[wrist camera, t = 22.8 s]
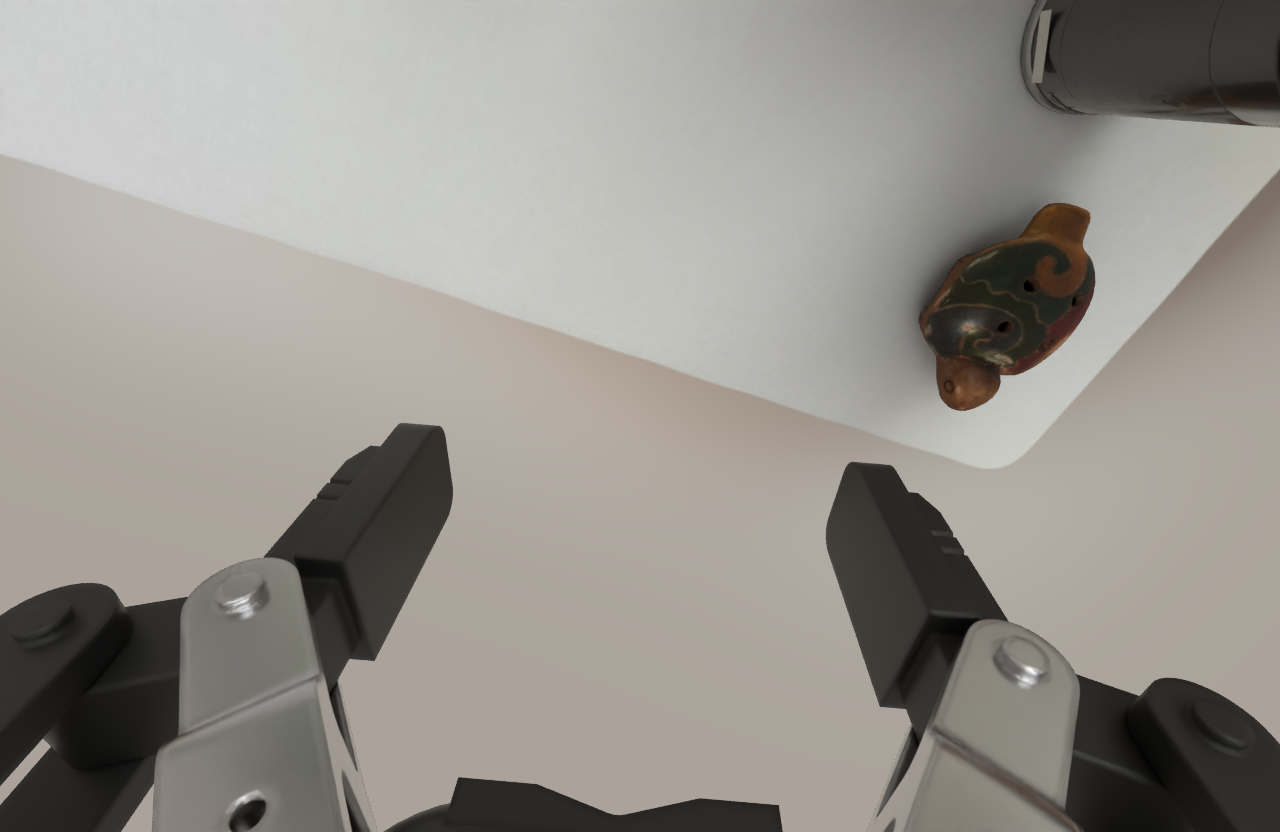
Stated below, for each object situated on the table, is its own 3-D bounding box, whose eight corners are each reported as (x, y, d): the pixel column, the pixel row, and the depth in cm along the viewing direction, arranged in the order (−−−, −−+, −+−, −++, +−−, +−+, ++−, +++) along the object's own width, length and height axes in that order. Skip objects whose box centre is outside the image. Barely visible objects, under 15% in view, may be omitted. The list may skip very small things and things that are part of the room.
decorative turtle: (873, 363, 46) (907, 403, 39) (971, 177, 39) (1034, 185, 32) (978, 395, 47) (1031, 440, 40) (1093, 217, 40) (1181, 234, 33)
